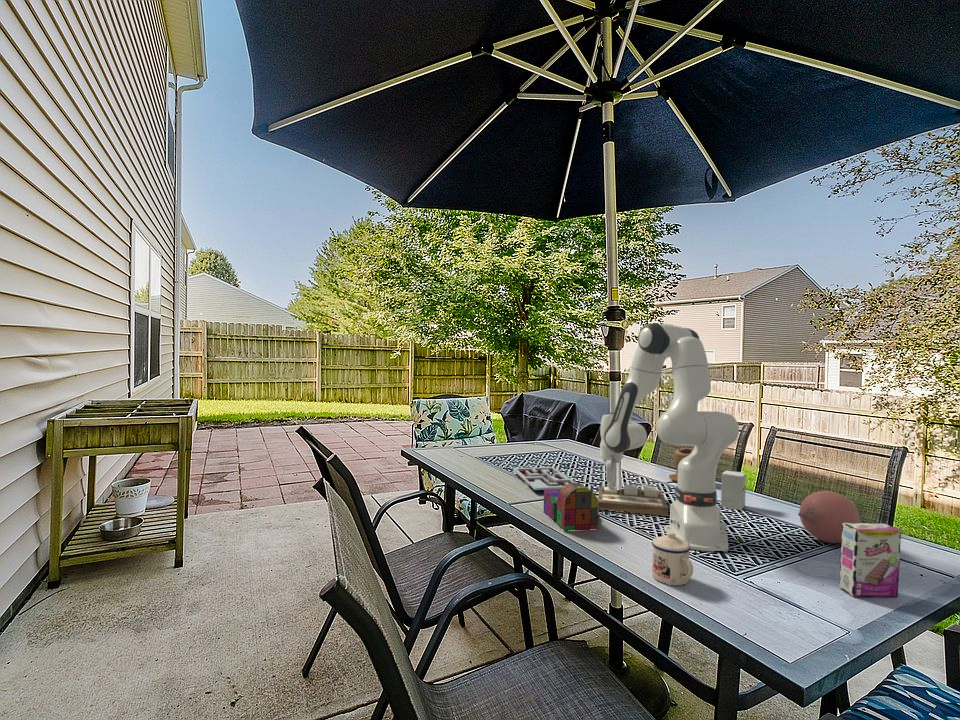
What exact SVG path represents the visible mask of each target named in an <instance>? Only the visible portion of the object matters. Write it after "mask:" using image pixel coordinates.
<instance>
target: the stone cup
mask: <svg viewBox="0 0 960 720" xmlns="http://www.w3.org/2000/svg"><path fill="white" fill-rule="evenodd" d="M693 449H694V448H690V447H682V448H678V449H676V450H675V452H674V455H673V456H674V457H673V458H674V459H673V461H674V465H675V470H676V472H675V473H672V474H669V475H668V478H669V479H670V480H672V481H674V482H677V483H678V465H679V462H680V461H681V460H682V459H683V458H685V457H687V456H688V455H690V454H691V452H692V451H693Z"/></svg>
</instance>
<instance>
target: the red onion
mask: <svg viewBox="0 0 960 720" xmlns="http://www.w3.org/2000/svg"><path fill="white" fill-rule="evenodd" d="M799 507H800V508H799V512H798V513H797V514H798V516H799V518H800V519H799V520H800V522H801V524H802V526H803V528H804V529H805V530H806V531H807V532H808V534H810V535H811V536H812V537H814V538H815V539H818V540H819V541H822V542H824V543H829V544H839V543H840V544H841V542H842V523H861V515H860V512H859V510H858V509H857V507H856V505H855V504H854V503H853V502H852V501H851V500H850V499H848V498H847V497H846V496H844V495H842V494H841V493H838V492H834V491H830V490H819V491H815V492H812V493H810V494H809V495H807V496H806V497H805V498H804V499H803V500H802V502H801V503H800V506H799Z"/></svg>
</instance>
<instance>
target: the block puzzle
mask: <svg viewBox="0 0 960 720" xmlns="http://www.w3.org/2000/svg"><path fill="white" fill-rule="evenodd" d="M556 511H557V512H556ZM544 513H545V514H546V515H548V516H549V517H550V518H551V519H552V520H553V521H556V526H557V525H558V526H559V527H560V528H561V529H563V530H564V531H568V530H569V531H570V530H587V531H591V530H590V529H597V530H598V528H599V527H598V520H599V519H598V518H600V519H601V516H600V514H599V510H598V497H597V496H596V494H595V493H594V492H593V491H592V489H589V488H588V487H586V486H585V485H583V484H581V483H579V482H576V483H569V484H567V485H565V486H564V487H563V488H562V489H554V490H543V514H544ZM545 514H544V515H545ZM546 515H545V516H546ZM548 516H547V517H548ZM549 517H548V518H549ZM550 518H549V519H550ZM551 519H550V520H551ZM552 520H551V521H552ZM553 521H552V522H553ZM558 526H557V527H558ZM559 527H558V528H559ZM560 528H559V529H560ZM561 529H560V530H561Z"/></svg>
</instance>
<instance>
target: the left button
mask: <svg viewBox="0 0 960 720" xmlns="http://www.w3.org/2000/svg"><path fill="white" fill-rule="evenodd" d="M603 487H604V493H610V494H617V488H618V487H614V486H613V489H609V488H608V486H603Z"/></svg>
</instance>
